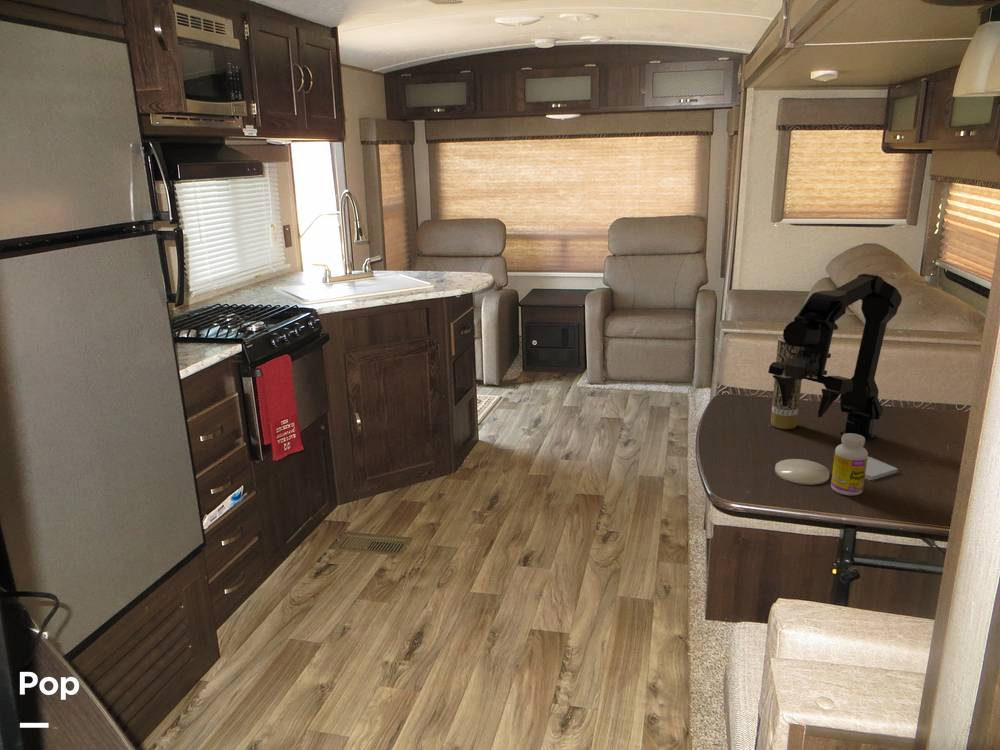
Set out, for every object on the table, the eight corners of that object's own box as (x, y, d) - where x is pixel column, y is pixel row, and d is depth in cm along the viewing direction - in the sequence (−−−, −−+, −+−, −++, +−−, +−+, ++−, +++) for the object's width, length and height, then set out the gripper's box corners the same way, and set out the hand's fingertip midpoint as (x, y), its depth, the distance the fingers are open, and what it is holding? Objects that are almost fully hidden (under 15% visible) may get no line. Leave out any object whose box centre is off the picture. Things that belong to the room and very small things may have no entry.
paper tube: (774, 419, 212) (782, 333, 204) (799, 424, 208) (808, 336, 200) (767, 427, 207) (774, 338, 199) (792, 432, 203) (801, 342, 195)
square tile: (864, 458, 186) (865, 454, 185) (897, 472, 178) (897, 468, 178) (838, 466, 182) (839, 462, 182) (870, 480, 174) (871, 476, 174)
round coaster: (800, 459, 187) (800, 455, 186) (840, 477, 176) (841, 473, 176) (763, 469, 182) (764, 465, 181) (803, 489, 171) (803, 485, 171)
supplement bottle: (847, 499, 166) (854, 445, 162) (824, 487, 172) (830, 434, 168) (869, 492, 169) (876, 439, 165) (845, 481, 174) (852, 429, 171)
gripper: (761, 338, 179) (748, 402, 182) (835, 355, 165) (819, 424, 167) (788, 339, 186) (775, 401, 189) (861, 356, 171) (845, 422, 174)
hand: (801, 411), depth 180 cm, fingers open, 9 cm apart
